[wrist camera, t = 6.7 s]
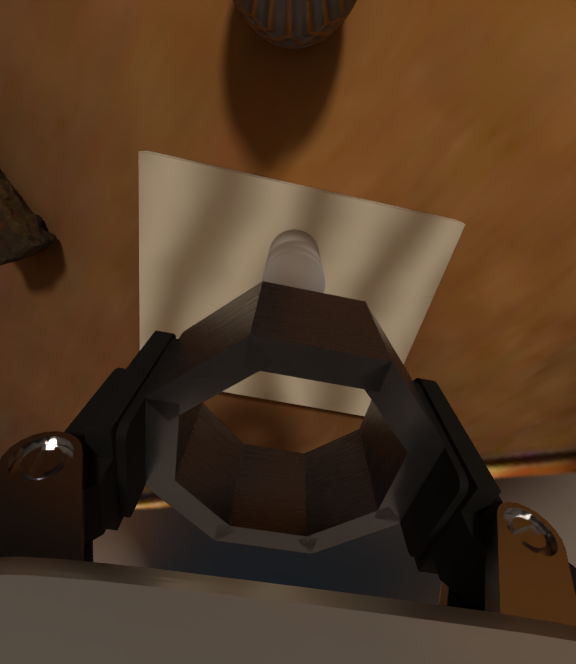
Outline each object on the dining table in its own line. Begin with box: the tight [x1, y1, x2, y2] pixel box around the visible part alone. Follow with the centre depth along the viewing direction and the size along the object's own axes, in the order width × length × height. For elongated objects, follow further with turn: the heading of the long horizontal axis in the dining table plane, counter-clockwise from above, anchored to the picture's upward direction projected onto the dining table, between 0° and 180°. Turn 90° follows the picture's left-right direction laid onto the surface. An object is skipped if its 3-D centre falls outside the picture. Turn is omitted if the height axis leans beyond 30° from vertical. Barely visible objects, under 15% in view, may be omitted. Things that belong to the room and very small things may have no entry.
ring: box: [145, 281, 445, 554], centre depth 10 cm, size 7×7×3 cm
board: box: [139, 151, 465, 416], centre depth 25 cm, size 22×18×8 cm
